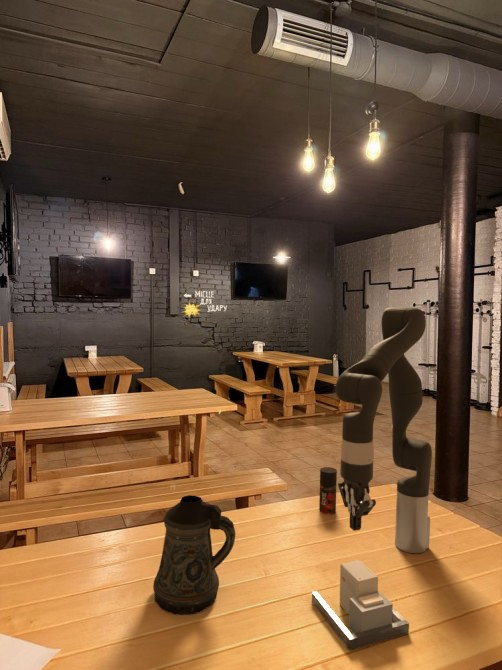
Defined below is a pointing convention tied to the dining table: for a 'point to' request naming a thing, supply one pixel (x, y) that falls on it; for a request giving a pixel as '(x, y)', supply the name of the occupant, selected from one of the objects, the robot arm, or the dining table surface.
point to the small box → (355, 582)
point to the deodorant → (328, 490)
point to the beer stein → (191, 557)
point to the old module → (369, 612)
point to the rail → (365, 637)
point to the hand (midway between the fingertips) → (355, 528)
